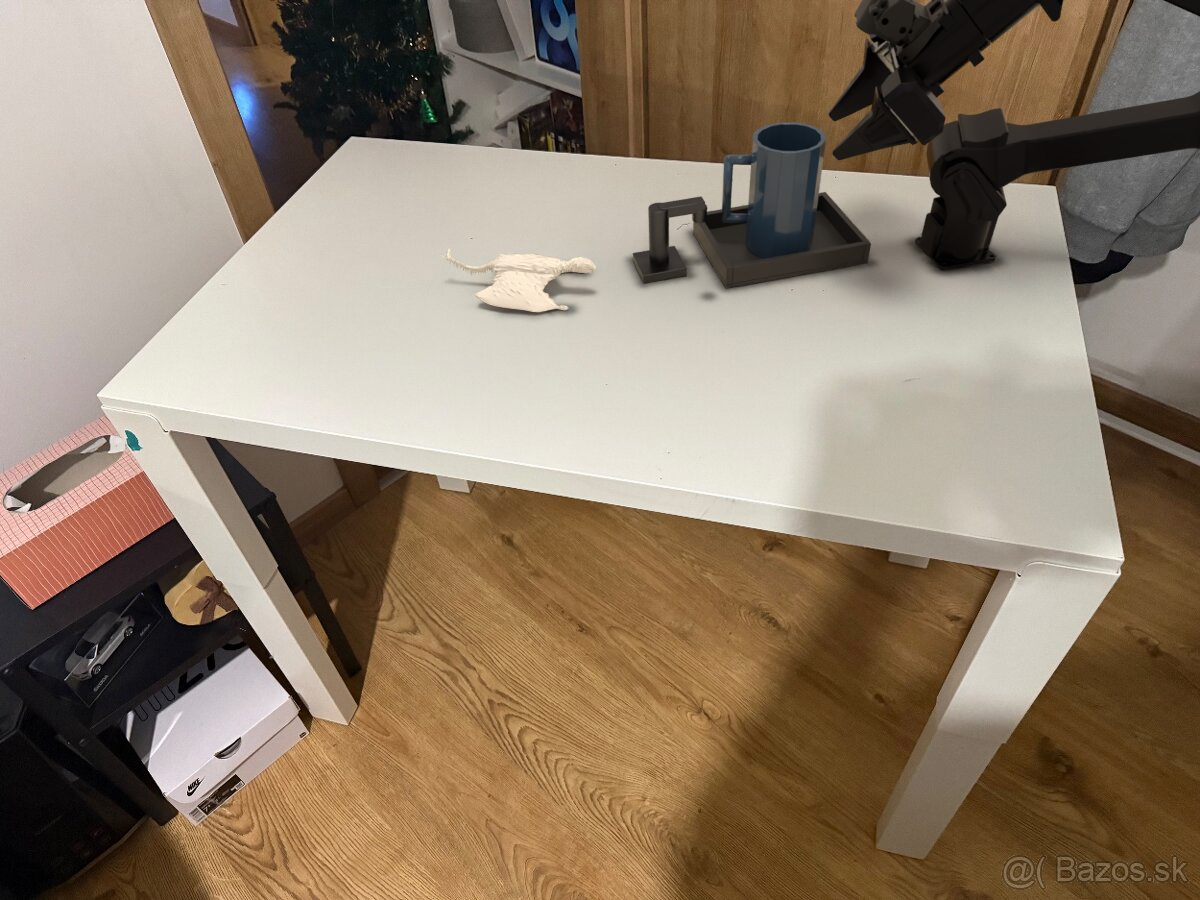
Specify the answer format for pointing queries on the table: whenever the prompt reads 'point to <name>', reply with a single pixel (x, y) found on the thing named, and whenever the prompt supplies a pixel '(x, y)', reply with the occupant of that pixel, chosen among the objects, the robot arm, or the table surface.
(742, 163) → the mug
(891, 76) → the robot arm
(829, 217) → the tray
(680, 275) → the tap
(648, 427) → the table surface
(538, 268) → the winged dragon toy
